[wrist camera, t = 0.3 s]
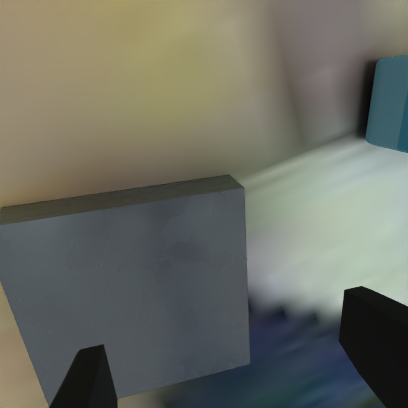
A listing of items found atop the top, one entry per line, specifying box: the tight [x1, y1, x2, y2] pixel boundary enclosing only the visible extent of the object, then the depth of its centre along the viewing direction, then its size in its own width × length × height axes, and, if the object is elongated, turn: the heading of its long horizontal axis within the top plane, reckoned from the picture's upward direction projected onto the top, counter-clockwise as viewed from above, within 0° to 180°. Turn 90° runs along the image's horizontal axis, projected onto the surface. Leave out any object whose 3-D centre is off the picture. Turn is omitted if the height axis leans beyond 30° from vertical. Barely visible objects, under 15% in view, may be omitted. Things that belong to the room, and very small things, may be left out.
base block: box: [0, 175, 250, 406], centre depth 18 cm, size 12×12×2 cm
